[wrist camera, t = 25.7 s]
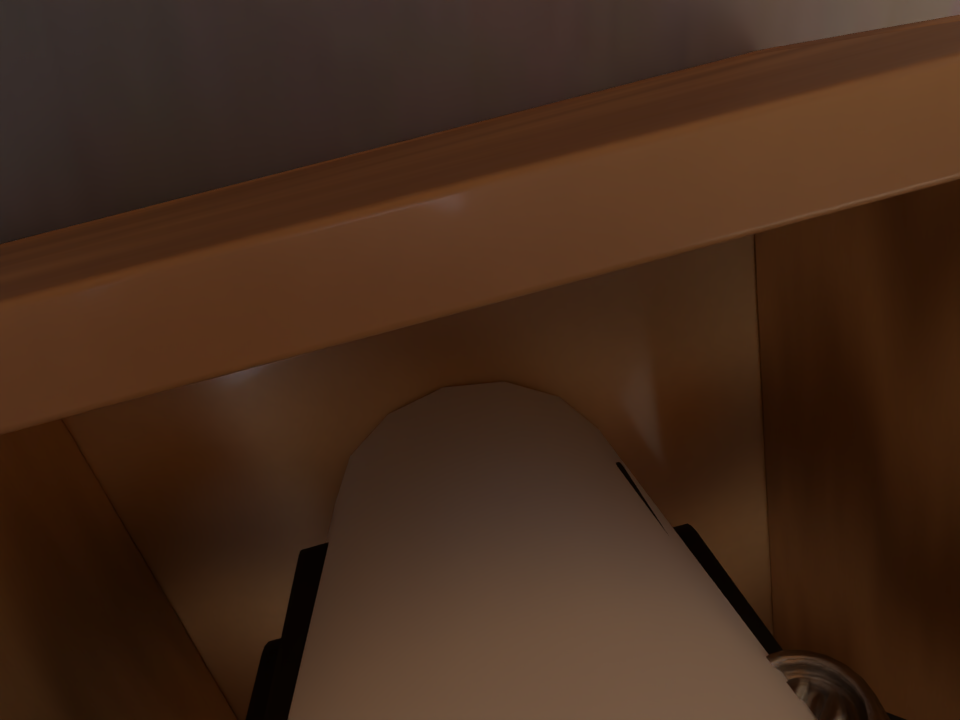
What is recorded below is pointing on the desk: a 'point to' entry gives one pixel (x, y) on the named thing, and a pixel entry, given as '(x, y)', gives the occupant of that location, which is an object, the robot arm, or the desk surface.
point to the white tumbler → (517, 581)
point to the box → (508, 366)
